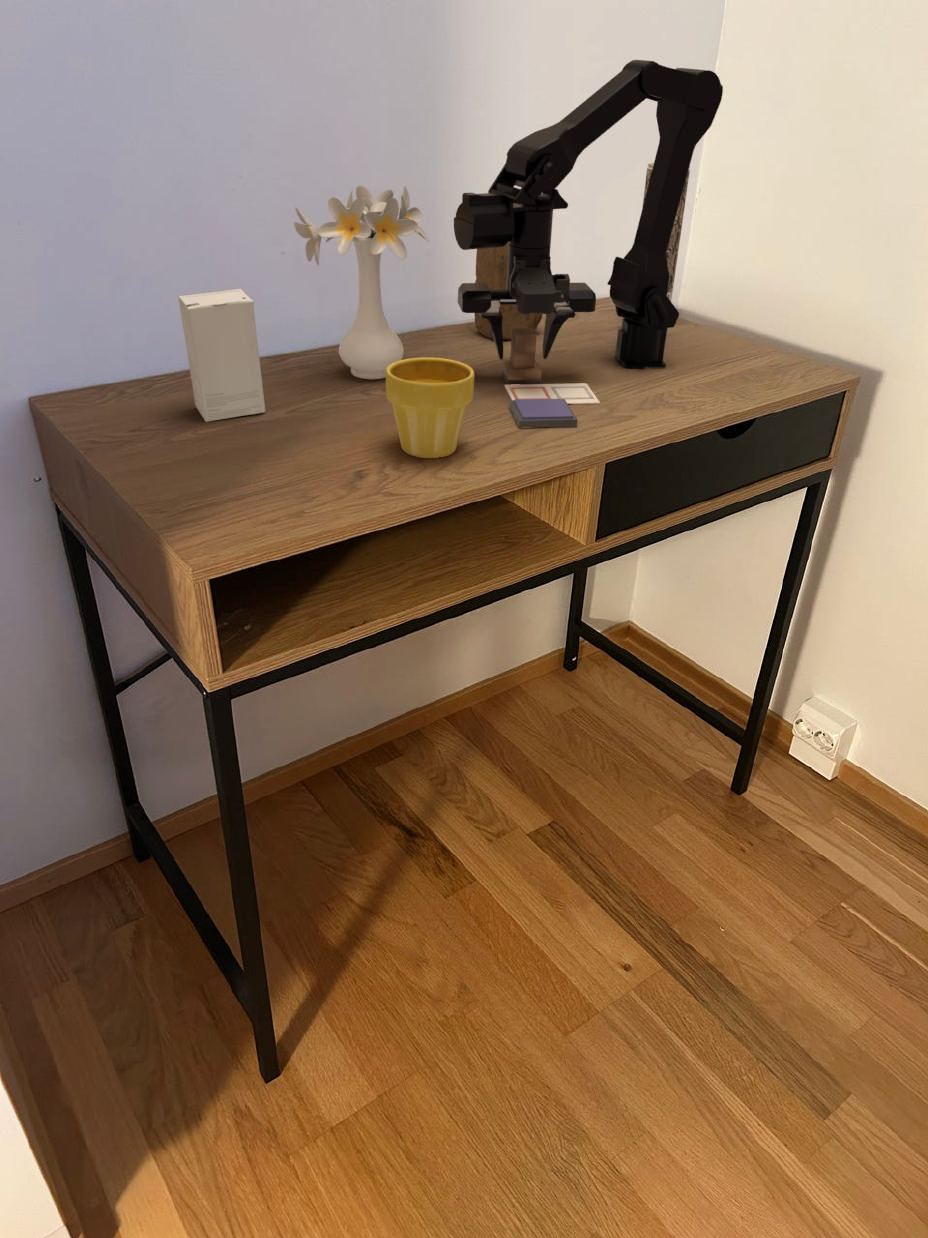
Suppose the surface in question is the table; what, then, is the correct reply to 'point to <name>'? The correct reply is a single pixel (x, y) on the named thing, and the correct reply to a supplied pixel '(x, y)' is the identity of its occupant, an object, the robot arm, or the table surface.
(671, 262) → the bark patterned cylinder
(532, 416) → the inkpad
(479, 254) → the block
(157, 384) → the table surface
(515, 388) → the sheet
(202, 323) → the skincare box
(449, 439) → the plant pot
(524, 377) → the stamp
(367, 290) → the flower vase
